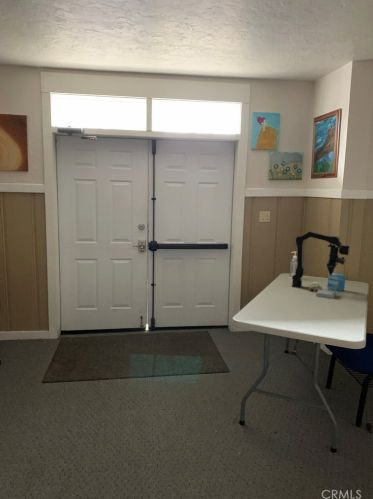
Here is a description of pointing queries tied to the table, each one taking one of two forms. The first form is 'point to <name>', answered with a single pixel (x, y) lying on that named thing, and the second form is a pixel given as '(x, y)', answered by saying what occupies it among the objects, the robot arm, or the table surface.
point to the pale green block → (315, 284)
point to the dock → (326, 294)
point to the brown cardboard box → (314, 288)
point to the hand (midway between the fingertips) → (331, 274)
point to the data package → (336, 282)
